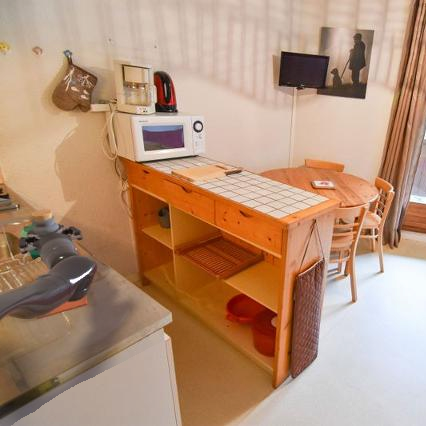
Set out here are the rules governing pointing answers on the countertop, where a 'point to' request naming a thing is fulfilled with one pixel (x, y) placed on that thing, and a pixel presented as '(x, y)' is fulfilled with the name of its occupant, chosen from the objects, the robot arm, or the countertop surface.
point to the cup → (33, 253)
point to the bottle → (44, 222)
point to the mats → (66, 304)
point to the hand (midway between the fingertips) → (45, 230)
